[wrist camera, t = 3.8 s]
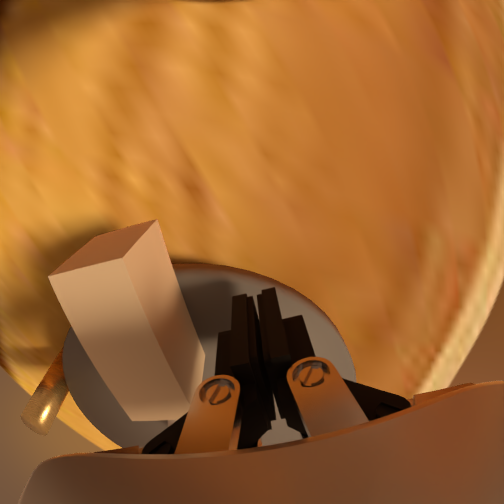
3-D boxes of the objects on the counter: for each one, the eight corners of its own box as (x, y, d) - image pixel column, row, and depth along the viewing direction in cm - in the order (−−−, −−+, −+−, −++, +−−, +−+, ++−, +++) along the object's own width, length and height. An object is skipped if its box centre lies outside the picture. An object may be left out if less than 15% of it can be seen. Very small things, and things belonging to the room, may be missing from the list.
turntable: (79, 186, 12) (6, 218, 7) (414, 284, 15) (469, 342, 10) (81, 425, 19) (61, 475, 14) (284, 469, 22) (291, 520, 17)
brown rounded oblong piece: (57, 277, 16) (-5, 341, 10) (285, 343, 18) (303, 433, 12) (62, 364, 19) (25, 429, 12) (247, 417, 21) (250, 493, 15)
